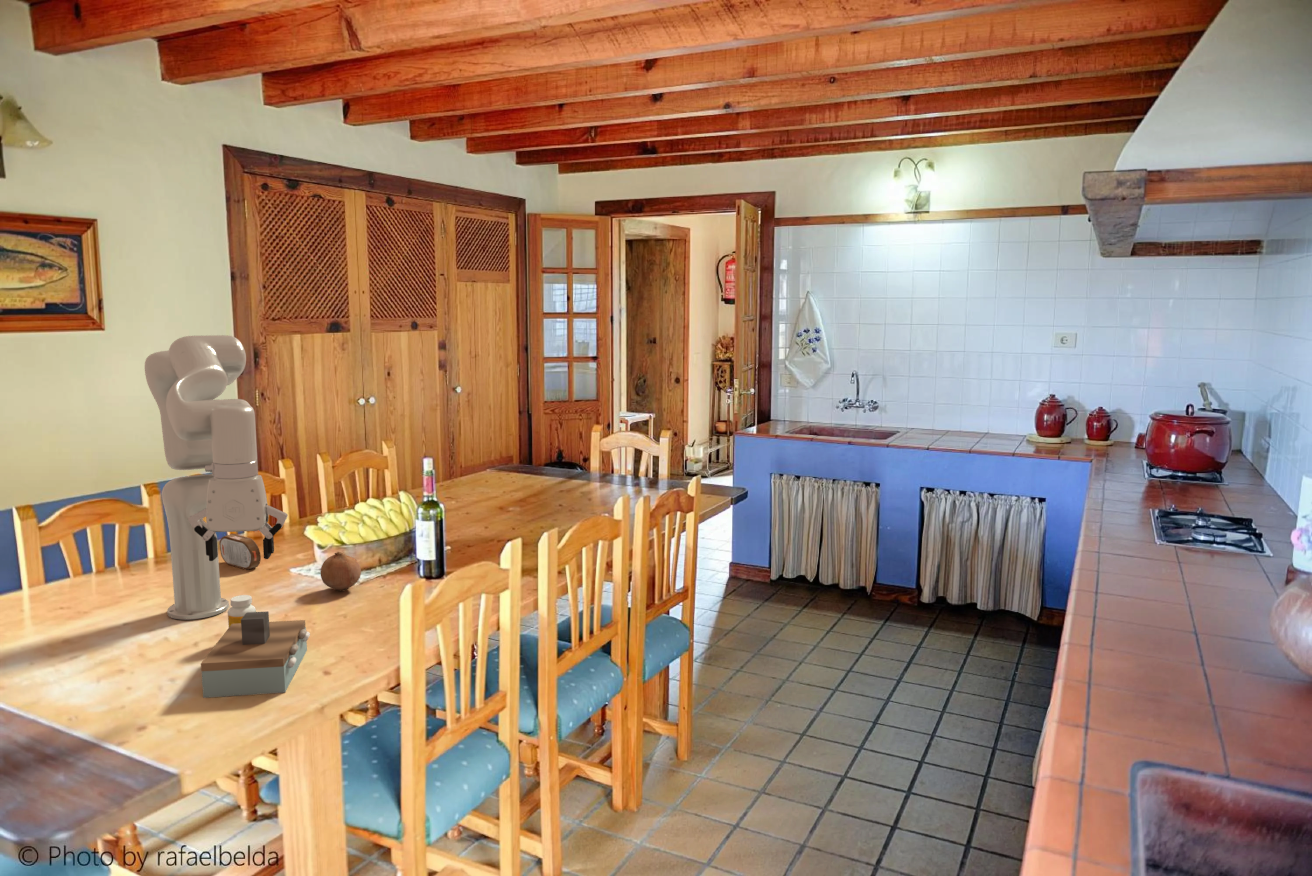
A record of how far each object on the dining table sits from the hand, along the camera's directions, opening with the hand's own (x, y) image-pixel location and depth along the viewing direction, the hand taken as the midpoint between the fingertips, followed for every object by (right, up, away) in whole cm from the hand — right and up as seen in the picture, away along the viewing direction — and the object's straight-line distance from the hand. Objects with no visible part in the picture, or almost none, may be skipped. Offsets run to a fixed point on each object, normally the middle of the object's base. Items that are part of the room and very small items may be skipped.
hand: (240, 558), depth 167 cm
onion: (+1, -15, +50) cm, 53 cm away
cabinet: (+2, -23, +2) cm, 23 cm away
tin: (-33, -12, +69) cm, 77 cm away
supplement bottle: (-8, -20, +18) cm, 28 cm away
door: (+2, -18, +2) cm, 18 cm away
